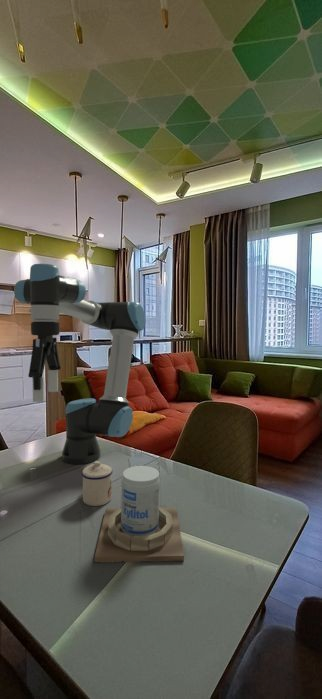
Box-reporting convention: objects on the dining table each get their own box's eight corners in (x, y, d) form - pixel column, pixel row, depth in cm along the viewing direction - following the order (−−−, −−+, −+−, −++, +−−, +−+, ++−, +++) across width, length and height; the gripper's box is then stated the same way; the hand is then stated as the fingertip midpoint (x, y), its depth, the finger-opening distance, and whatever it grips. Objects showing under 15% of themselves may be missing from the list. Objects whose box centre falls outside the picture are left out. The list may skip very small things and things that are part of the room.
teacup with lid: (115, 503, 99) (115, 465, 98) (84, 509, 96) (83, 470, 95) (107, 485, 110) (107, 451, 110) (79, 490, 107) (79, 454, 106)
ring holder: (105, 512, 94) (105, 500, 94) (176, 511, 95) (176, 499, 95) (94, 562, 74) (94, 546, 74) (183, 560, 75) (184, 545, 75)
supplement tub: (119, 541, 80) (119, 481, 79) (122, 518, 90) (122, 465, 89) (159, 540, 80) (160, 481, 79) (158, 518, 90) (159, 464, 89)
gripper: (45, 321, 105) (46, 388, 107) (13, 320, 80) (15, 406, 82) (69, 321, 106) (70, 388, 107) (45, 320, 81) (46, 406, 82)
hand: (46, 396), depth 95 cm, fingers open, 13 cm apart
